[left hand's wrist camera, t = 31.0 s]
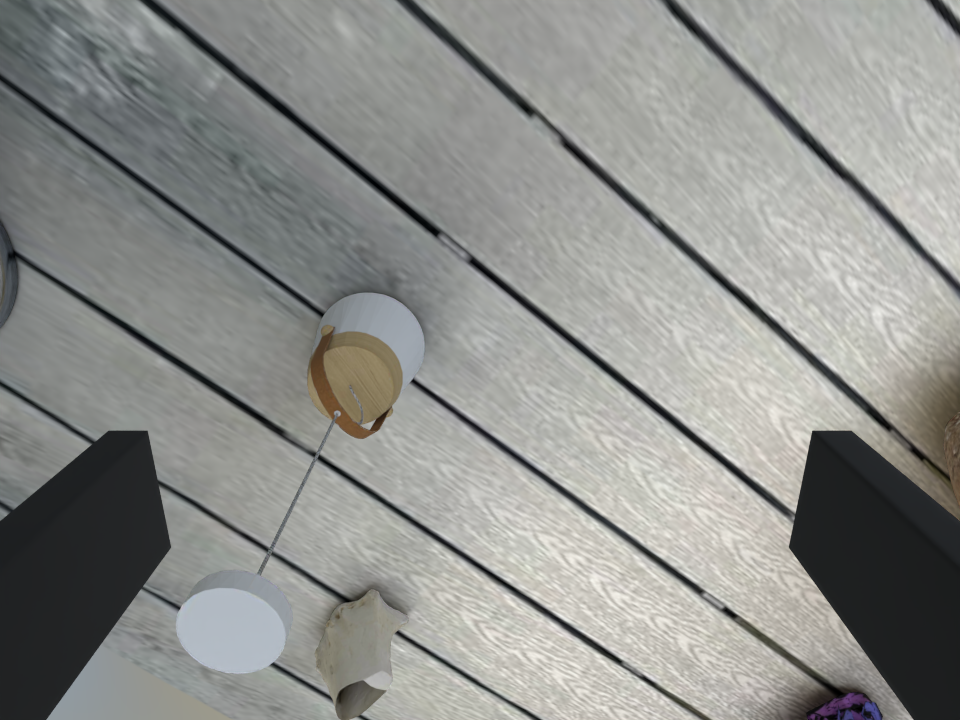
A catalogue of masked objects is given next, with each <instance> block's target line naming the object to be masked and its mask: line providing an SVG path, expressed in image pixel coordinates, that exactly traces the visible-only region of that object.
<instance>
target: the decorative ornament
mask: <svg viewBox="0 0 960 720" xmlns="http://www.w3.org/2000/svg"><path fill="white" fill-rule="evenodd" d="M858 707H863V710H862V711H860V710H857V709H853V708H858ZM865 712H866V713H865ZM806 714H807V719H808V720H882V717H883V716H882V714H881V712H880V710H879V708H878V706H877V704H876V703H874V702H872V701H871V700H870V699H869V698H868V697H867V695H866V694H863V693H858V692H853V693H848V694H844V695H840V696H838V697H836V698H834V699H833V700H831V701H829V702H827V703H825V704H823V705H821V706H819V707H817V708H815V709H813V710H811V711H809V712H807V713H806Z"/></svg>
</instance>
